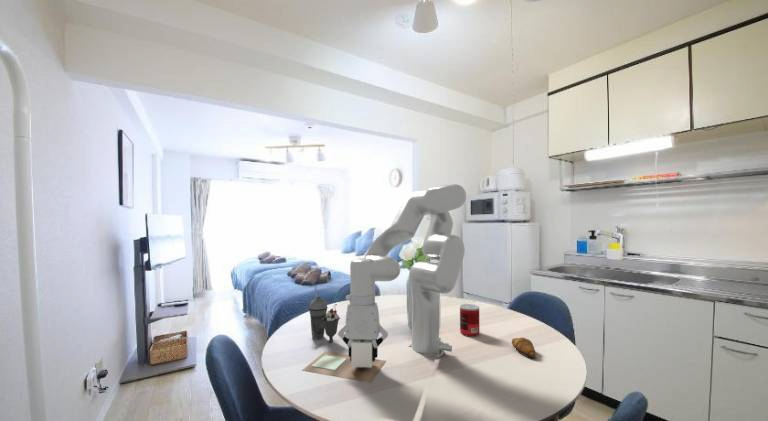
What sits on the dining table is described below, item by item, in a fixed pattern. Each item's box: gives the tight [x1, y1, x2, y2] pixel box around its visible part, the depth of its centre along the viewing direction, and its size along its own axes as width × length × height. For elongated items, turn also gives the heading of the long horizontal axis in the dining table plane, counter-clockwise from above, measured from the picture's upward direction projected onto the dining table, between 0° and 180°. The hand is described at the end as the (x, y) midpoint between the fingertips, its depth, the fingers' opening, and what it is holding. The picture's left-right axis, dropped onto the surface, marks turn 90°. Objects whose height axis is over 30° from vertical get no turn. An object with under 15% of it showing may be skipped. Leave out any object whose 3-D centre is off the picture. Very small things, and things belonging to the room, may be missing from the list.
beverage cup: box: [308, 286, 328, 340], centre depth 121 cm, size 7×7×20 cm
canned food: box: [459, 303, 480, 337], centre depth 126 cm, size 8×8×11 cm
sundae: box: [322, 303, 341, 344], centre depth 112 cm, size 7×7×15 cm
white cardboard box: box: [351, 340, 373, 368], centre depth 92 cm, size 6×6×7 cm
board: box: [301, 351, 387, 384], centre depth 94 cm, size 22×14×2 cm, turn 72°
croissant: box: [511, 337, 536, 359], centre depth 108 cm, size 14×7×5 cm, turn 4°
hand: (363, 358), depth 92 cm, fingers closed on white cardboard box, 6 cm apart
